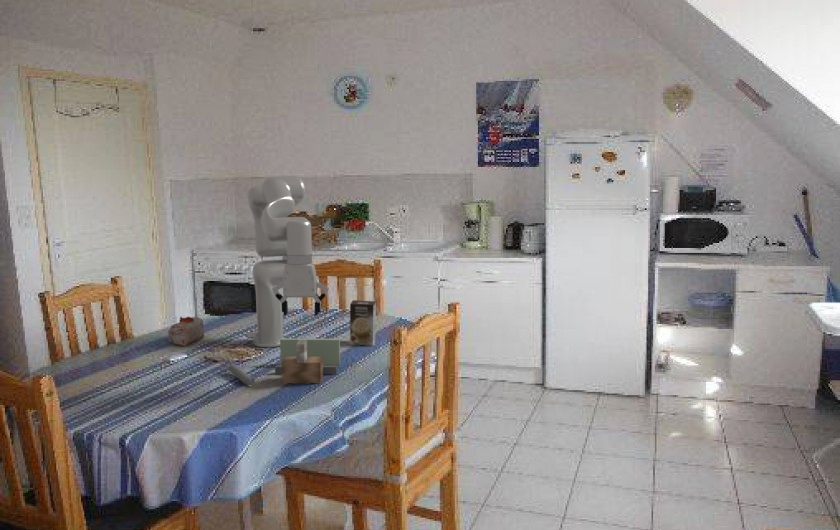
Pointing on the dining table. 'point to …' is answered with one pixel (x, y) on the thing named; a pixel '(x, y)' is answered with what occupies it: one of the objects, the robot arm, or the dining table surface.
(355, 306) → the coffee box
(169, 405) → the dining table surface
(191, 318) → the food item
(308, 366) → the walnut mallet
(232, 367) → the kitchen whisk
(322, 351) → the cleat board
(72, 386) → the dining table surface
